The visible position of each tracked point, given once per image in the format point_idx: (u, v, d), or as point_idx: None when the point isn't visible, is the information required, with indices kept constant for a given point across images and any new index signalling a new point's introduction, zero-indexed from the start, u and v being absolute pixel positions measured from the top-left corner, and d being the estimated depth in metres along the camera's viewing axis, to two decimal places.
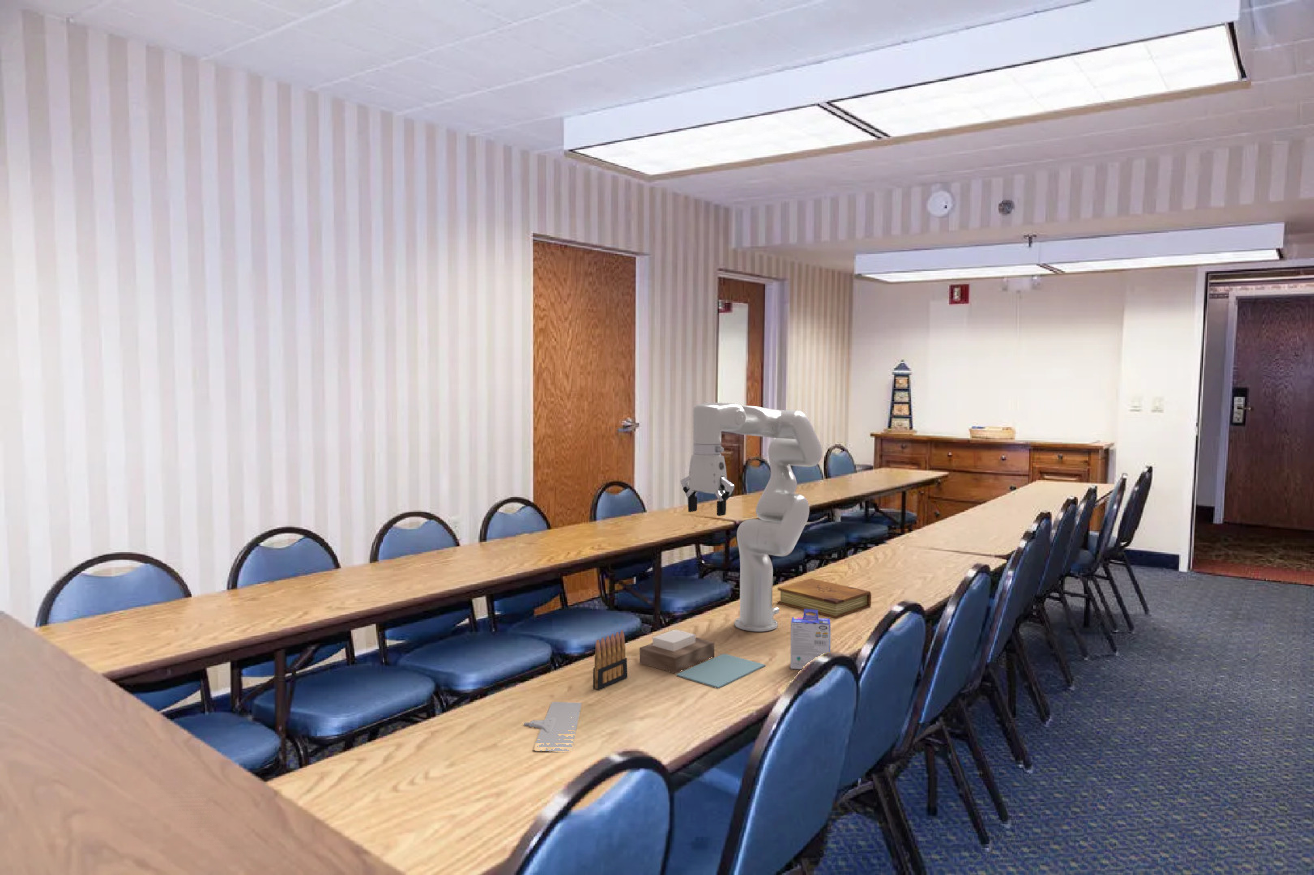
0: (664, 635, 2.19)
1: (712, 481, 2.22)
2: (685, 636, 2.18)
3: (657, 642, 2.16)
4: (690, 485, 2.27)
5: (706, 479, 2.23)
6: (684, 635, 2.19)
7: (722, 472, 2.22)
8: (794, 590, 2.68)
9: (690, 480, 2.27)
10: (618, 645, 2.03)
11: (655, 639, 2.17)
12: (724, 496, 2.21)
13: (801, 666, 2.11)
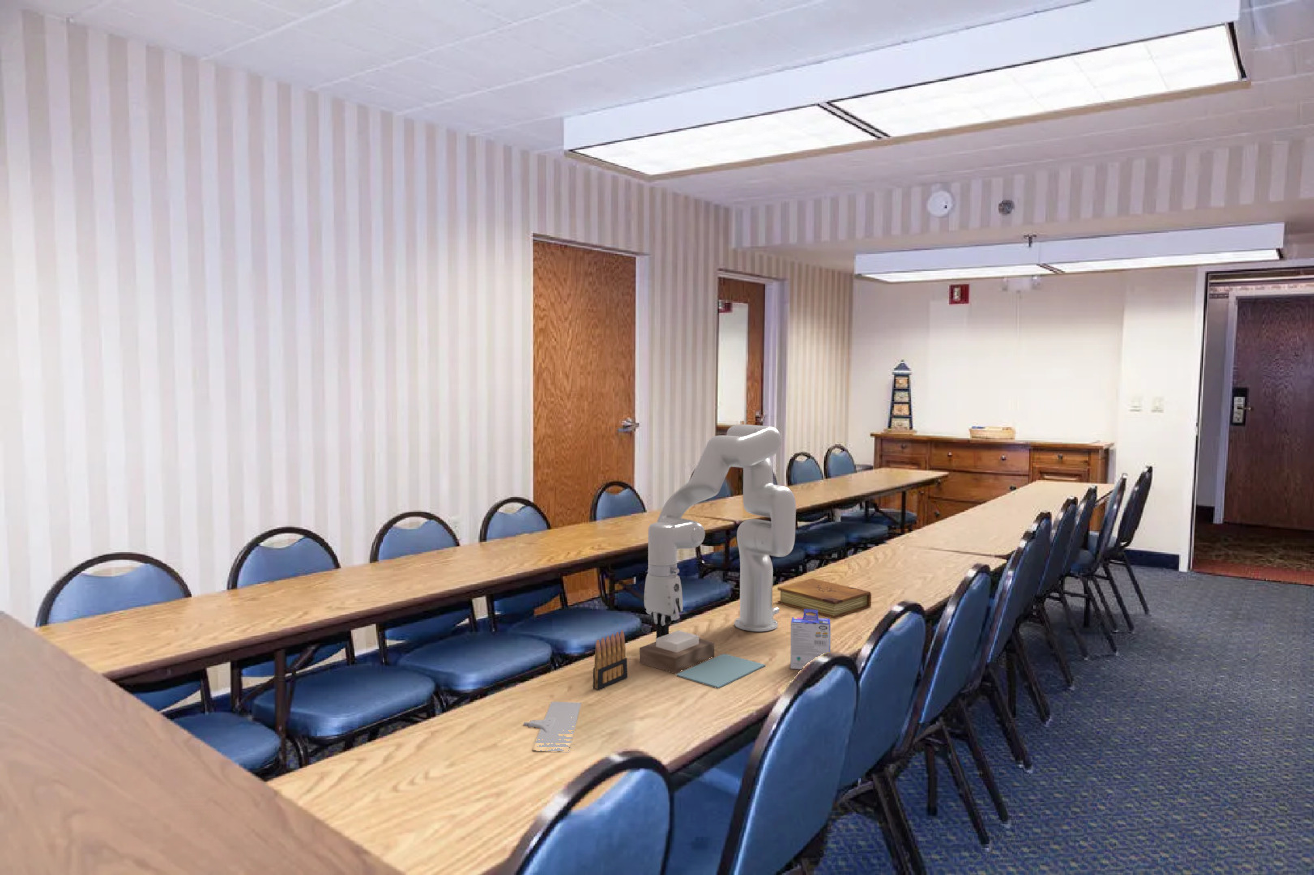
0: (668, 636, 2.18)
1: (667, 603, 2.16)
2: (688, 637, 2.17)
3: (661, 643, 2.15)
4: (645, 604, 2.21)
5: (661, 600, 2.17)
6: (688, 636, 2.18)
7: (677, 594, 2.17)
8: (794, 590, 2.68)
9: (645, 599, 2.21)
10: (618, 645, 2.03)
11: (658, 640, 2.16)
12: (666, 620, 2.18)
13: (801, 666, 2.11)
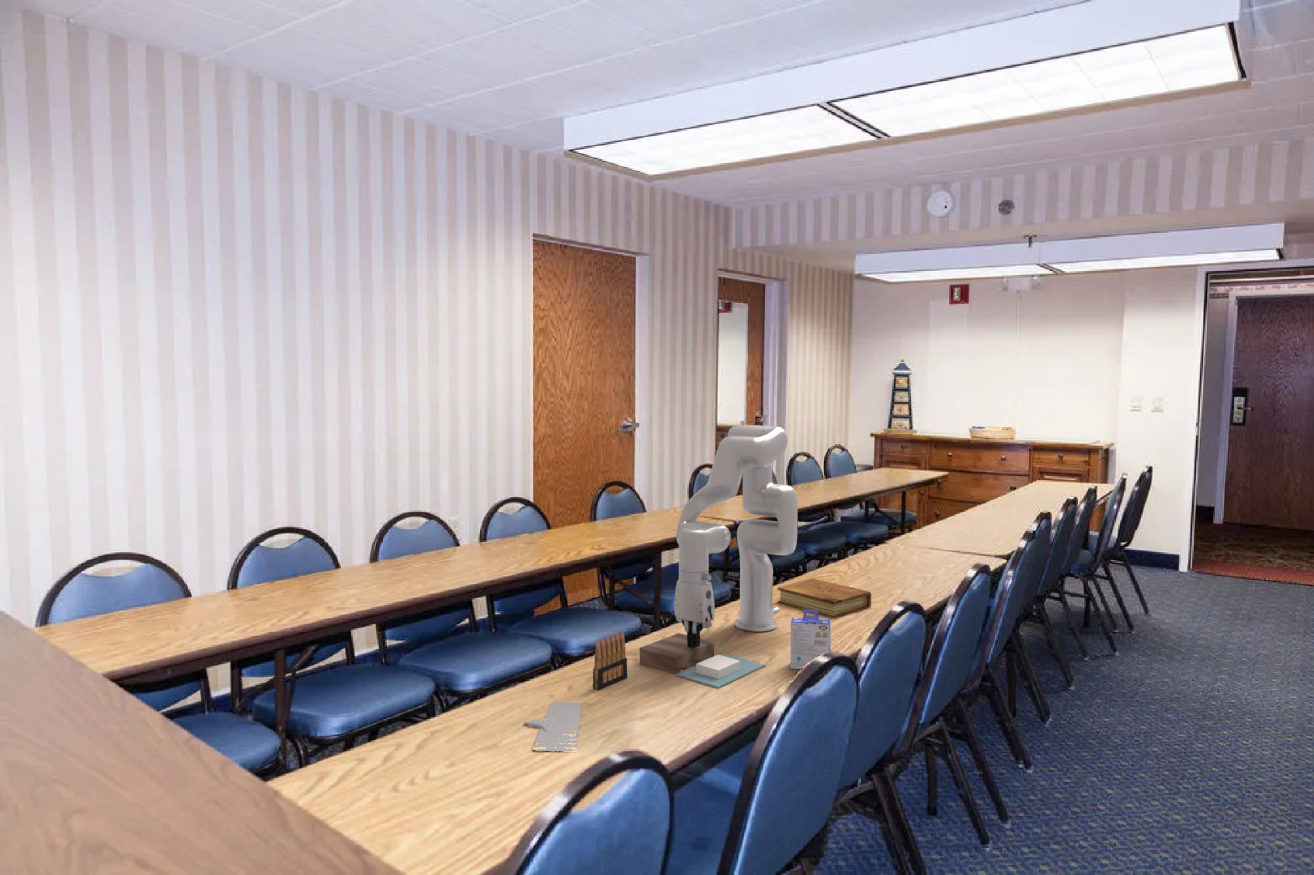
0: None
1: (699, 611, 2.09)
2: None
3: (712, 673, 2.04)
4: (676, 612, 2.15)
5: (692, 608, 2.10)
6: None
7: (709, 601, 2.10)
8: (794, 590, 2.68)
9: (676, 607, 2.14)
10: (618, 645, 2.03)
11: (715, 676, 2.04)
12: (698, 628, 2.12)
13: (801, 666, 2.11)
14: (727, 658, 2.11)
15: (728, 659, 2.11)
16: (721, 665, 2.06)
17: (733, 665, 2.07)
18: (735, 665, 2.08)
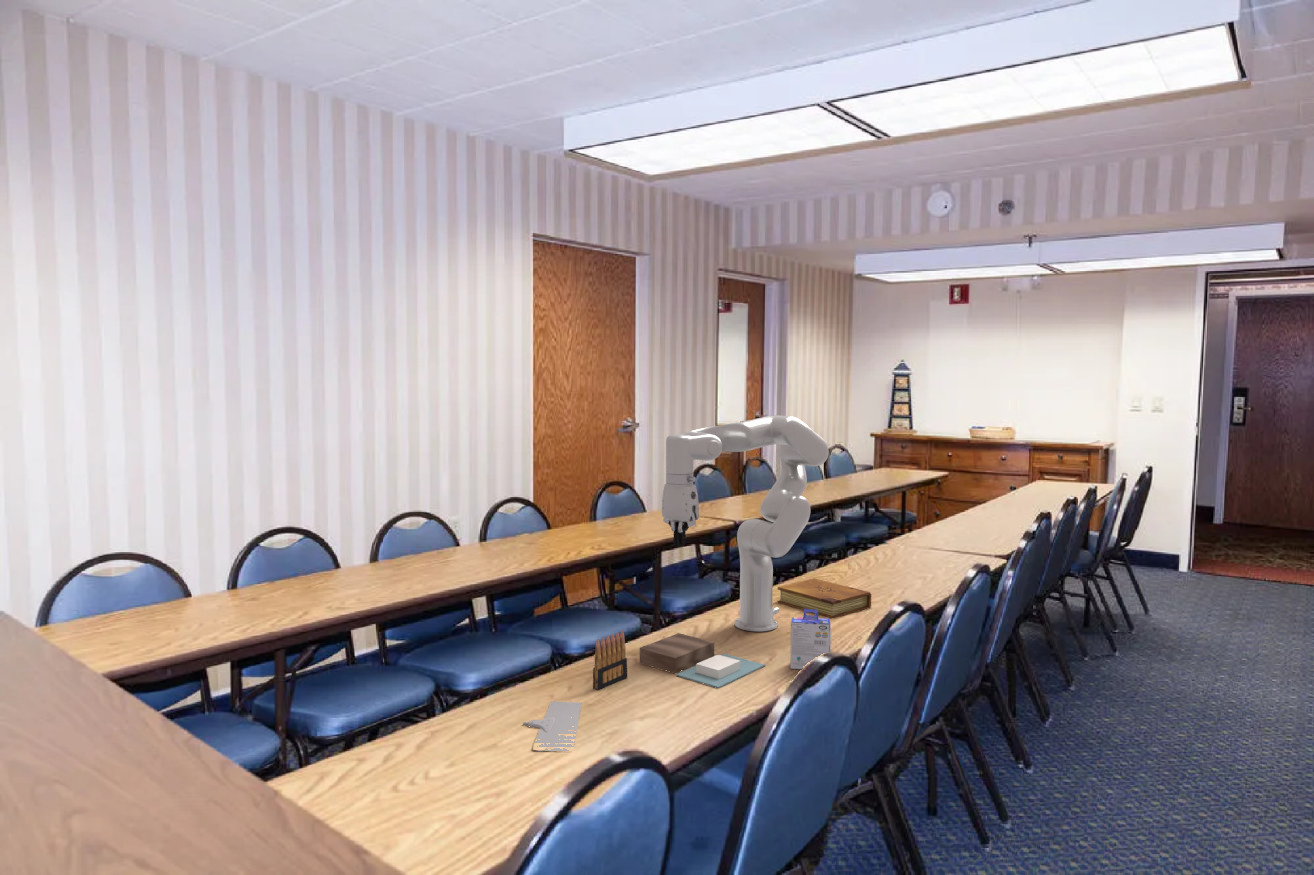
0: None
1: (684, 510, 2.26)
2: None
3: (712, 673, 2.04)
4: (663, 513, 2.31)
5: (678, 508, 2.27)
6: None
7: (693, 501, 2.27)
8: (793, 590, 2.68)
9: (663, 509, 2.31)
10: (618, 645, 2.03)
11: (715, 676, 2.04)
12: (683, 528, 2.28)
13: (801, 666, 2.11)
14: (727, 658, 2.11)
15: (728, 659, 2.11)
16: (721, 665, 2.06)
17: (733, 665, 2.07)
18: (735, 665, 2.08)
